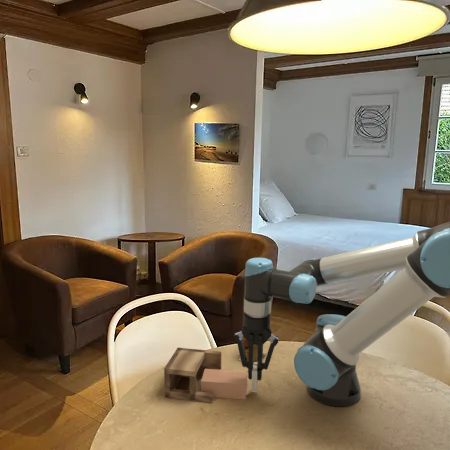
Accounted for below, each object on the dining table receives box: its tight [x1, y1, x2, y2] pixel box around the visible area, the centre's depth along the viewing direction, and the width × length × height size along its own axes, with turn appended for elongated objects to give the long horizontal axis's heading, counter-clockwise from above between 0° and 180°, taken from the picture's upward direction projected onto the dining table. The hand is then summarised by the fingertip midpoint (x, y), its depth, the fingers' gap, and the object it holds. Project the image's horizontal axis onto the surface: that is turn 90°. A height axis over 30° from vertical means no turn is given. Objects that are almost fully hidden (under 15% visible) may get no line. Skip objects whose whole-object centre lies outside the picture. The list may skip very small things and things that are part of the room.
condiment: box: [238, 336, 267, 365], centre depth 143 cm, size 7×8×12 cm
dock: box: [163, 347, 222, 404], centre depth 125 cm, size 14×13×9 cm
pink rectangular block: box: [200, 369, 248, 400], centre depth 123 cm, size 13×7×5 cm, turn 84°
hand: (254, 388), depth 122 cm, fingers closed
